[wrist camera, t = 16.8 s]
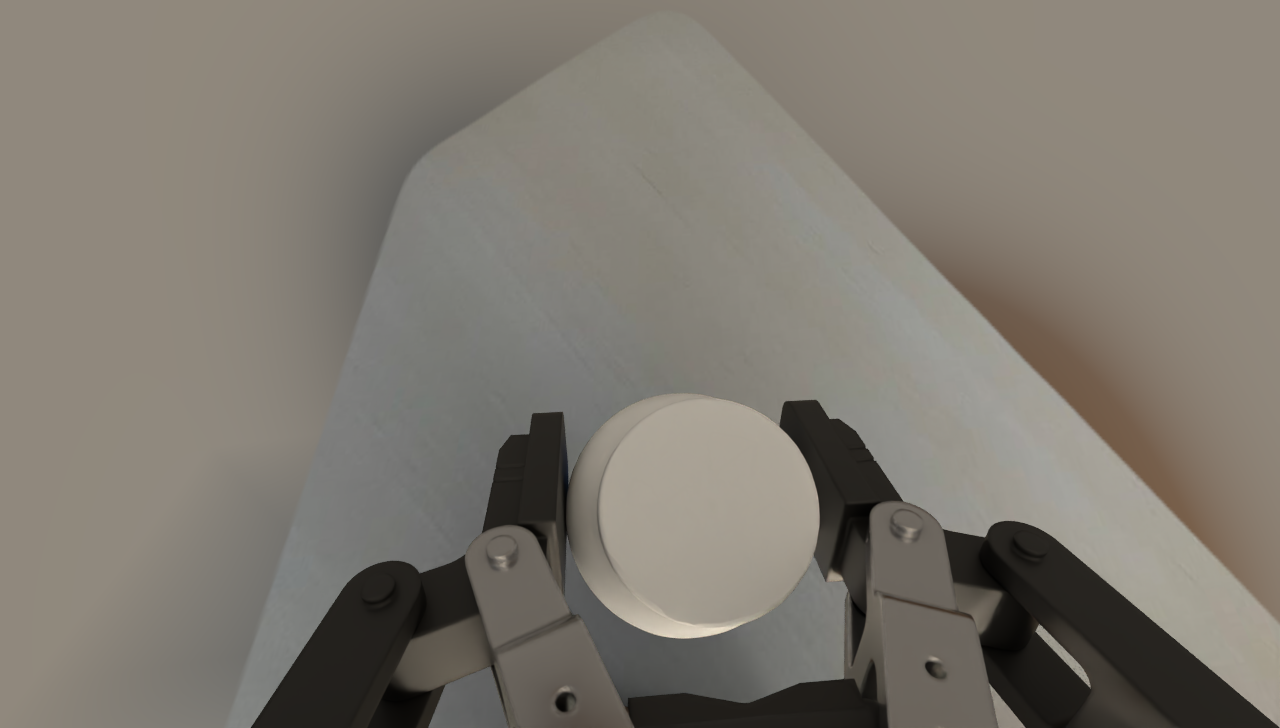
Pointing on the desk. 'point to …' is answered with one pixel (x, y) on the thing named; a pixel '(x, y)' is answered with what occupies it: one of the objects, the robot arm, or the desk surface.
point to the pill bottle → (691, 515)
